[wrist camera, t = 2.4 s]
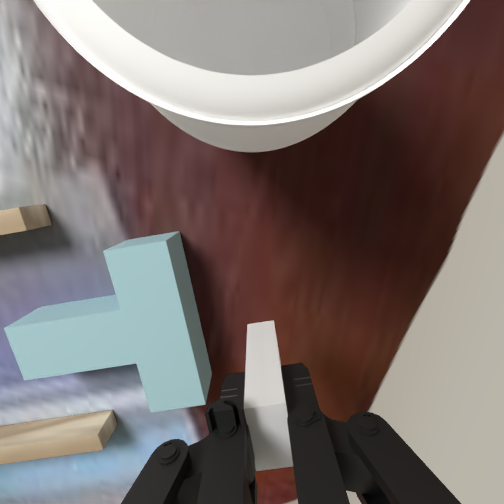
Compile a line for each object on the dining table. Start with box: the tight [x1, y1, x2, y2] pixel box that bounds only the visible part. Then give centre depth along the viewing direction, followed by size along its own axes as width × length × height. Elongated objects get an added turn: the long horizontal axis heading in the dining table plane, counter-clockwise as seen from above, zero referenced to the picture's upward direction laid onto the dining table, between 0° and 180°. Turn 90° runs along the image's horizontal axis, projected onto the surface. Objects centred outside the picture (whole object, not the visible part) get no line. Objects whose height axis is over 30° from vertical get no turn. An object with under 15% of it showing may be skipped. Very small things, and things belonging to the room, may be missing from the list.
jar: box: [34, 0, 470, 152], centre depth 12 cm, size 11×10×15 cm
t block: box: [4, 231, 212, 412], centre depth 22 cm, size 12×12×4 cm
